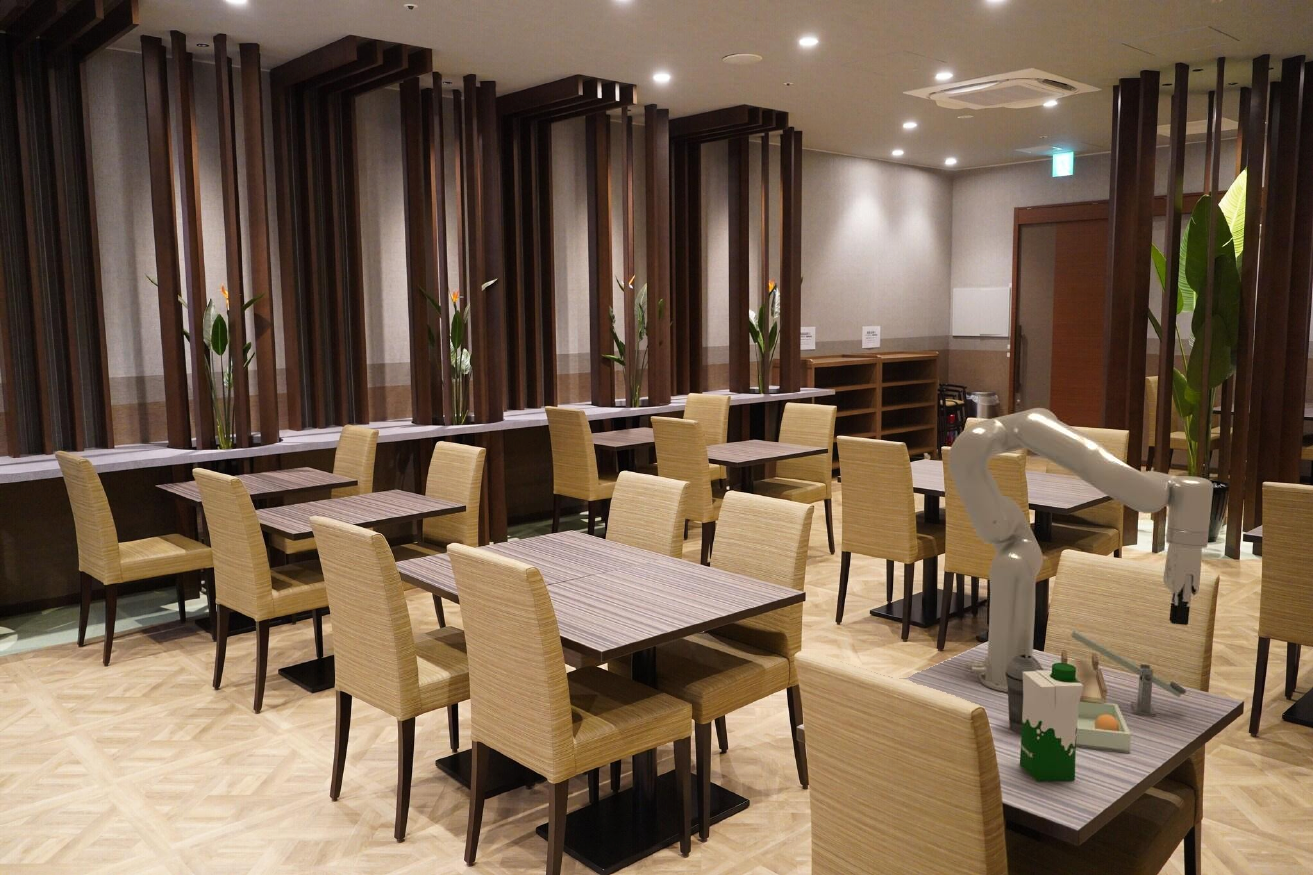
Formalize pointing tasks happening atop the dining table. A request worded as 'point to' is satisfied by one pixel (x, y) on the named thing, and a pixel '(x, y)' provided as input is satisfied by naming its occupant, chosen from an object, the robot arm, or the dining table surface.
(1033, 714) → the milk carton
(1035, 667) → the beverage cup
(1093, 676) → the ramp
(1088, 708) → the shallow mint tray
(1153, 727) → the dining table surface
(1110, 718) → the ball
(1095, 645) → the lever
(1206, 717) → the dining table surface
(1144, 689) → the pivot stand
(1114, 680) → the dining table surface
